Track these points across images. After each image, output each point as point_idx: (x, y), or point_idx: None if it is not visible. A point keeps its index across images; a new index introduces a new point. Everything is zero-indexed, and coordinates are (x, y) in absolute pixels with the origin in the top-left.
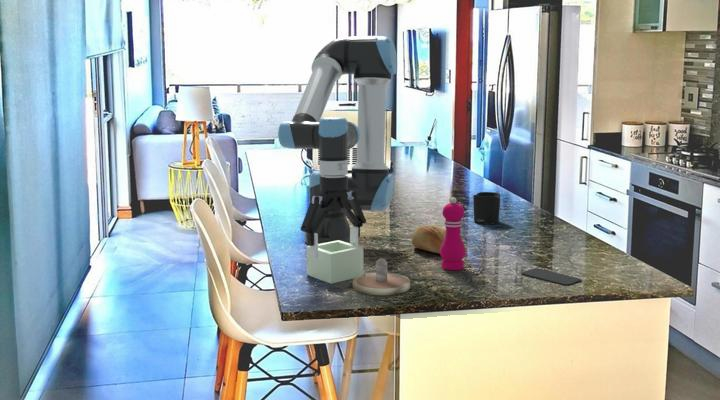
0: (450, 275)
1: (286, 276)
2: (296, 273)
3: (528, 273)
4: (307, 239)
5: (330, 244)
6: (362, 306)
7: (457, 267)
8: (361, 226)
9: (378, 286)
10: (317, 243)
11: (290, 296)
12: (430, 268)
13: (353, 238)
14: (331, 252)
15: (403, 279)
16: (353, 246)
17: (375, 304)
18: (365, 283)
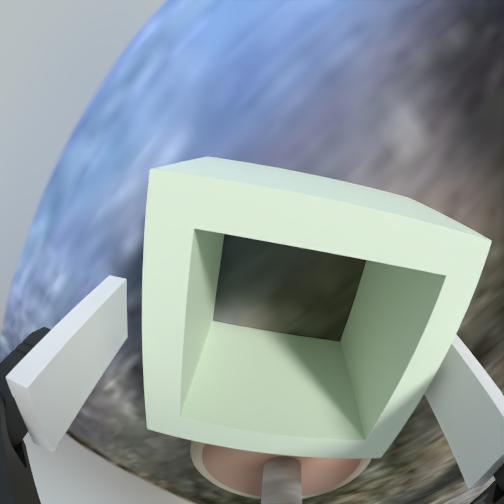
0: (451, 467)
1: (125, 105)
2: (189, 97)
3: (479, 501)
4: (13, 351)
5: (376, 259)
6: (133, 467)
7: None
8: (487, 493)
9: (226, 479)
10: (84, 396)
11: (23, 310)
12: None
13: (454, 407)
14: (174, 418)
15: (325, 485)
16: (378, 424)
17: (163, 479)
18: (221, 454)
